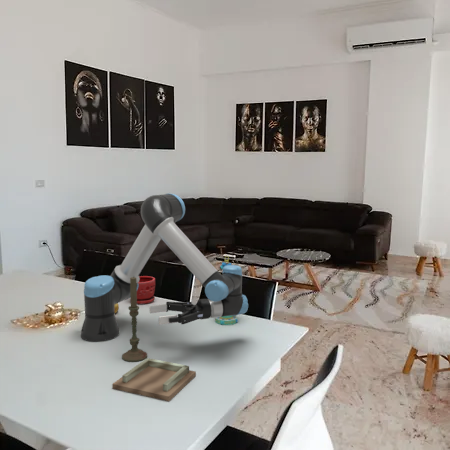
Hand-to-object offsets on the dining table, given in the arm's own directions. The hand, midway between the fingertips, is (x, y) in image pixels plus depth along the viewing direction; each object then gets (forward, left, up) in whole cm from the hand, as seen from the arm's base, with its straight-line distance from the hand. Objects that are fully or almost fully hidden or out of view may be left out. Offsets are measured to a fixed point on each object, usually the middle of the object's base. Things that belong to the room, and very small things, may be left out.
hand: (154, 314), depth 166 cm
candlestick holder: (-5, -5, -15) cm, 17 cm away
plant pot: (-40, +55, -15) cm, 69 cm away
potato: (-46, +33, -15) cm, 59 cm away
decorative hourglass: (+11, +44, -15) cm, 48 cm away
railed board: (+12, -19, -15) cm, 27 cm away
